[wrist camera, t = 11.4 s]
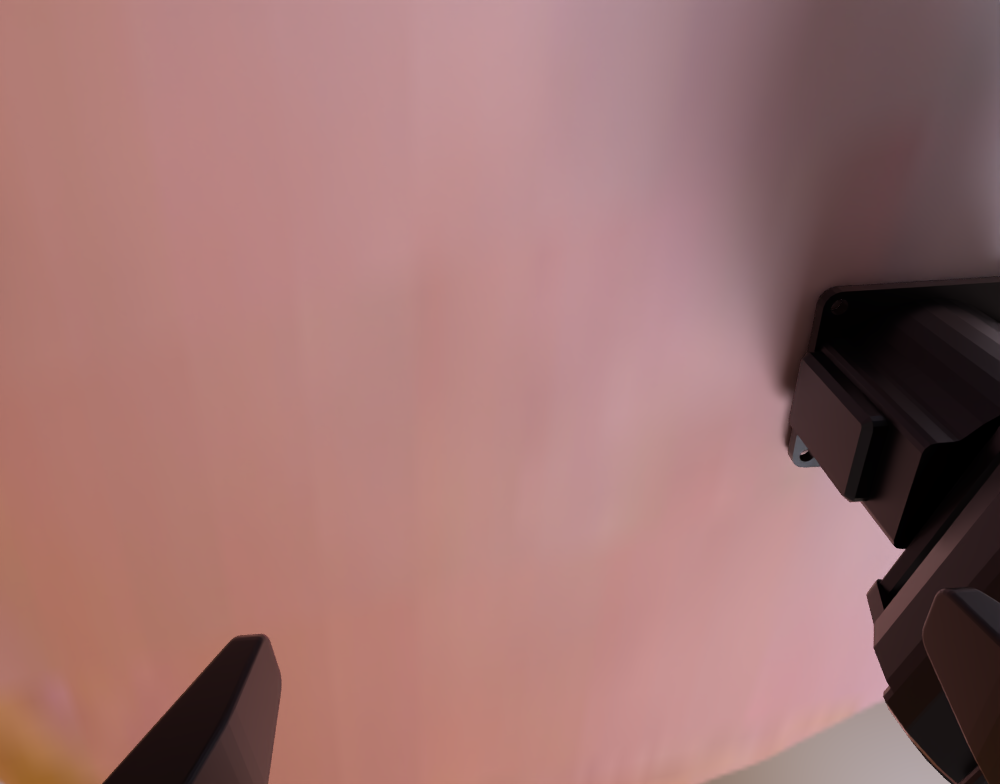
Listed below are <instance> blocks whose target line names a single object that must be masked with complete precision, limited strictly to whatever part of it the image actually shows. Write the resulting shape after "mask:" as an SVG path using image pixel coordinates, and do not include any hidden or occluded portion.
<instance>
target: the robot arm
mask: <svg viewBox="0 0 1000 784" xmlns="http://www.w3.org/2000/svg"><path fill="white" fill-rule="evenodd" d="M840 299H842V302H841V304H840V306H839V307H837V308H836V309H833V310H831V307H832V305H833V303H834V302H836V301H837V300H840ZM789 424H790V425H791V427H792V432H791V436H790V441H789V446H788V455H789V457H790V458H791V460H792V461H793V462H794V464H795V465H797V466H798V467H819V466H821V467H822V469H823V470H824V472H825V473H826V474H827V476H828V477H829V478H830V480H831V481H832V482H833V484H834V485H835V487H836V488H837V489H838V491H839V492H840V493H841V495H842V496H843V497H845V498H846V499H847V500H848V501H849V502H861V503H862V504H863V506H864V507H865V508H866V510H867V511H868V512H869V514H870V515H871V516H872V517H873V519H874V520H875V521H876V523H877V524H878V525H879V527H880V528H881V529H882V531H883V532H884V533H885V535H886V536H887V537H888V538H889V540H890V541H891V542H892V544H893V545H894V546H895V547H896V548H899V549H905V551H904V552H903V553H902V555H901V556H900V557H899V558H898V560H897V561H896V562H895V564H894V565H893V566H892V568H891V569H890V570H889V572H888V573H887V574H886V576H885V577H884V578H883V579H878V580H877V581H876V582H875V583H874V585H873V586H872V587H871V588H870V590H869V591H868V592H867V599H868V603H869V607H870V611H871V615H872V619H873V623H874V650H875V653H876V655H877V658H878V660H879V663H880V666H881V668H882V671H883V673H884V676H885V678H886V681H887V683H888V684H889V687H888V688H887V689H886V690H885V691H884V695H883V697H884V699H885V702H886V704H887V706H888V709H889V710H890V712H891V713H892V715H893V716H894V717H895V719H896V720H897V722H898V723H899V724H900V726H901V727H902V729H903V730H904V732H905V733H906V734H907V736H908V737H909V738H910V739H911V741H912V742H913V744H914V745H915V746H916V747H917V749H918V750H919V751H920V752H921V753H922V755H923V756H924V757H925V759H926V760H927V761H928V762H929V763H930V764H931V765H932V766H933V767H934V768H935V769H936V770H937V771H938V772H939V773H940V774H941V775H942V776H943V777H944V778H945V779H946V780H947V781H949V782H950V783H951V784H1000V277H985V278H969V279H952V280H936V281H920V282H904V283H887V284H871V285H855V286H838V287H833V288H830V289H828V290H827V291H825V292H824V293H823V294H822V295H821V296H820V298H819V300H818V303H817V307H816V312H815V317H814V322H813V327H812V332H811V337H810V342H809V347H808V352H807V353H806V354H805V355H804V357H803V358H802V359H801V362H800V367H799V372H798V377H797V383H796V388H795V393H794V398H793V403H792V408H791V413H790V418H789ZM805 450H809V451H808V452H807V453H805V454H803V455H800V454H801V453H802V452H803V451H805ZM280 696H281V673H280V670H279V667H278V664H277V661H276V658H275V655H274V651H273V648H272V645H271V642H270V640H269V638H268V637H267V636H266V635H265V634H253V635H240V636H237V637H235V638H233V639H232V640H231V641H230V642H229V643H228V644H227V645H226V646H225V647H224V648H223V649H222V651H221V652H220V653H219V654H218V655H217V656H216V657H215V658H214V659H213V661H212V662H211V663H210V664H209V665H208V666H207V667H206V668H205V670H204V671H203V672H202V673H201V674H200V675H199V676H198V677H197V678H196V680H195V681H194V682H193V683H192V684H191V685H190V686H189V687H188V688H187V690H186V691H185V692H184V693H183V694H182V695H181V696H180V697H179V699H178V700H177V701H176V702H175V703H174V704H173V705H172V706H171V707H170V709H169V710H168V711H167V712H166V713H165V714H164V715H163V716H162V717H161V719H160V720H159V721H158V722H157V723H156V724H155V725H154V726H153V728H152V729H151V730H150V731H149V732H148V733H147V734H146V735H145V736H144V738H143V739H142V740H141V741H140V742H139V743H138V744H137V745H136V746H135V748H134V749H133V750H132V751H131V752H130V753H129V754H128V755H127V757H126V758H125V759H124V760H123V761H122V762H121V763H120V764H119V765H118V767H117V768H116V769H115V770H114V771H113V772H112V773H111V774H110V775H109V777H108V778H107V779H106V780H105V781H104V782H103V783H102V784H268V780H269V773H270V766H271V759H272V752H273V745H274V738H275V731H276V724H277V717H278V710H279V703H280Z"/></svg>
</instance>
